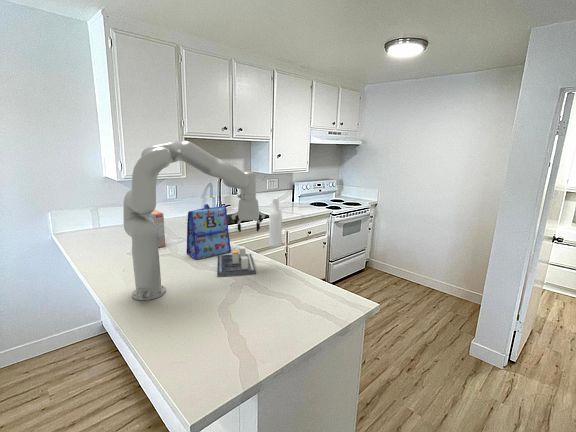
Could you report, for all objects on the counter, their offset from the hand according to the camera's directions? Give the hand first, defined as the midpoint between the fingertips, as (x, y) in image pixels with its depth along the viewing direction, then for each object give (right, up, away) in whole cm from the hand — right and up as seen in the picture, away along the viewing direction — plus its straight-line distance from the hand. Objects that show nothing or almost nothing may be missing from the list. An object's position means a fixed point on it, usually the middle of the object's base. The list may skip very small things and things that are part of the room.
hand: (248, 231), depth 152 cm
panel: (-7, -18, +2) cm, 19 cm away
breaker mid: (-7, -16, +2) cm, 17 cm away
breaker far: (-5, -14, +10) cm, 18 cm away
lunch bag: (-25, -14, +21) cm, 36 cm away
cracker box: (-61, -10, +36) cm, 72 cm away
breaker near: (-1, -17, -5) cm, 18 cm away
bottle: (+12, -11, +37) cm, 41 cm away
